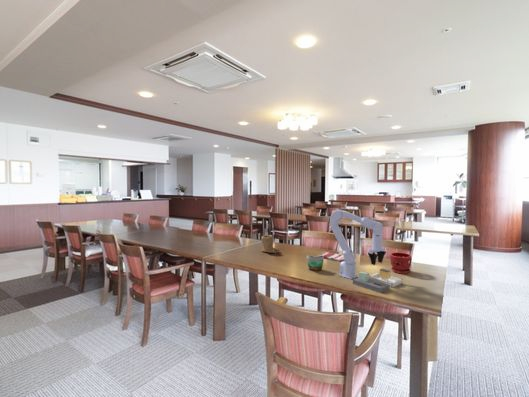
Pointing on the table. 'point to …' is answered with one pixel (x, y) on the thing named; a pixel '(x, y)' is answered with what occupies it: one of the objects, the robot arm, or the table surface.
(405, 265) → the plant pot
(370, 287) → the grey flat slab
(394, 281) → the parts tray
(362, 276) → the fuse
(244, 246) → the table surface
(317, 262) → the food container
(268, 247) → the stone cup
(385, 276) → the fuse
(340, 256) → the dish towel
